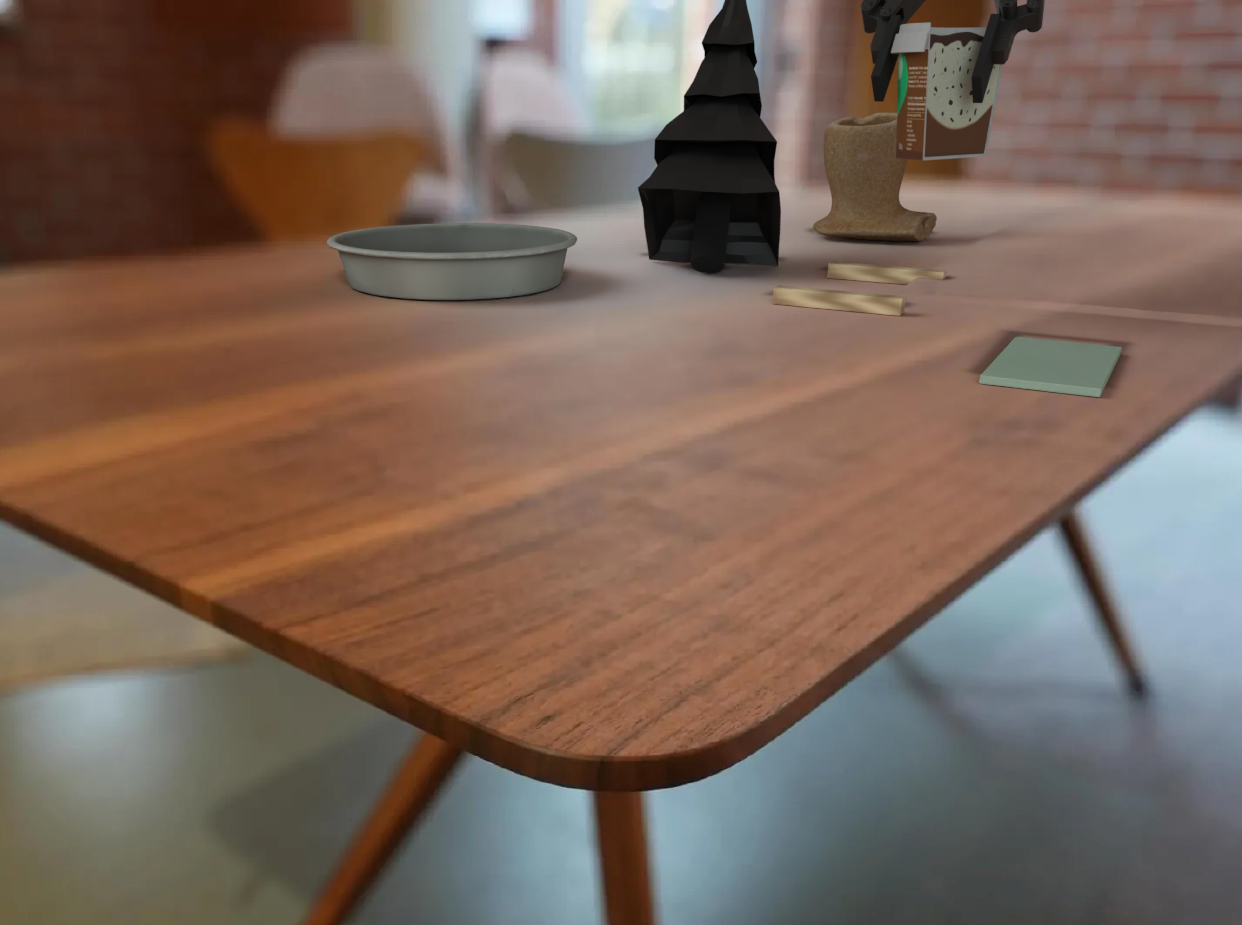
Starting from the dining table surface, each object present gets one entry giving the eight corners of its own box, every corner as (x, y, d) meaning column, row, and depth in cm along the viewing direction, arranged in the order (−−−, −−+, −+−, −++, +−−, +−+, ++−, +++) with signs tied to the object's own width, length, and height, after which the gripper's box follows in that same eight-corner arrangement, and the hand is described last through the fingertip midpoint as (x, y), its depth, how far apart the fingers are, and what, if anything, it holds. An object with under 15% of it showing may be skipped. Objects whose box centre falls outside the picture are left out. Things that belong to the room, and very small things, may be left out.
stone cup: (803, 243, 147) (814, 113, 141) (819, 231, 157) (830, 110, 151) (926, 249, 143) (943, 115, 136) (935, 237, 153) (950, 112, 146)
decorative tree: (776, 300, 129) (804, 16, 135) (777, 231, 115) (807, -83, 120) (645, 294, 131) (677, 15, 137) (629, 226, 117) (666, -82, 122)
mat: (1120, 354, 91) (1122, 346, 90) (1099, 397, 79) (1101, 388, 78) (1014, 344, 94) (1015, 336, 94) (978, 383, 82) (979, 375, 81)
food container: (935, 152, 106) (949, 29, 102) (995, 155, 102) (1012, 26, 98) (851, 157, 99) (862, 24, 95) (912, 161, 95) (926, 21, 90)
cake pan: (548, 261, 131) (547, 218, 129) (604, 299, 110) (604, 249, 108) (325, 268, 126) (321, 223, 124) (338, 309, 104) (333, 256, 102)
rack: (945, 285, 119) (947, 270, 118) (900, 316, 104) (902, 298, 103) (830, 276, 124) (832, 261, 123) (772, 303, 109) (773, 287, 108)
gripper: (1114, -85, 100) (1055, 127, 94) (881, -74, 108) (813, 121, 102) (1120, -170, 94) (1058, 52, 88) (871, -152, 102) (798, 52, 96)
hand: (926, 89), depth 95 cm, fingers closed on food container, 7 cm apart
